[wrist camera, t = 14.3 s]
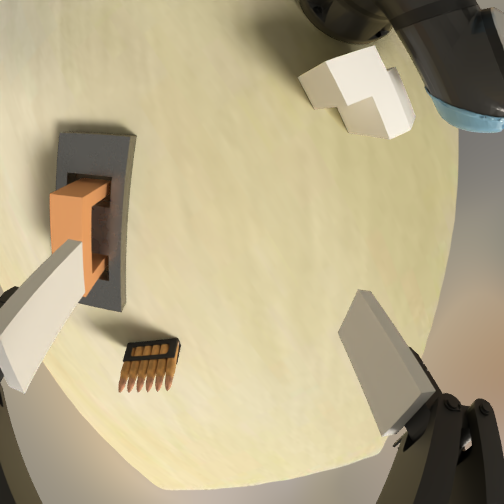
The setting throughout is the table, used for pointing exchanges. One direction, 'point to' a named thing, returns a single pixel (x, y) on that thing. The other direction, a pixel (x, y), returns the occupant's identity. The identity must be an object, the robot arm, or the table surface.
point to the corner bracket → (361, 93)
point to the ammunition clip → (149, 363)
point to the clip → (78, 222)
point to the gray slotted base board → (102, 204)
